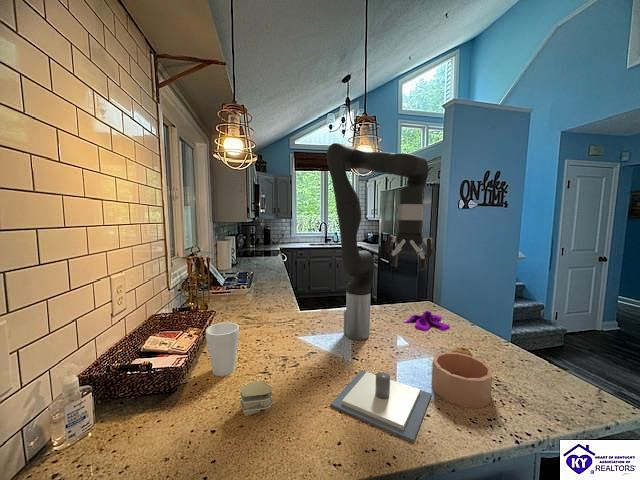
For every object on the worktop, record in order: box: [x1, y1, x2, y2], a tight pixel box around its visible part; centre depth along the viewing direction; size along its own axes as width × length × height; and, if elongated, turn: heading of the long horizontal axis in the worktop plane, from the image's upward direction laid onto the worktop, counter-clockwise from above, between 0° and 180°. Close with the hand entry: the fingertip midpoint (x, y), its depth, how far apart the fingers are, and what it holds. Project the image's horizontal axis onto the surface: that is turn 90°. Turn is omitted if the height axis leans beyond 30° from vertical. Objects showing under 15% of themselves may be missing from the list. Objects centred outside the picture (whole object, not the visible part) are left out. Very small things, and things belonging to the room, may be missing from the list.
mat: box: [329, 369, 432, 443], centre depth 71 cm, size 20×18×1 cm
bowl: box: [431, 351, 493, 409], centre depth 75 cm, size 14×14×7 cm
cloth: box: [404, 310, 451, 332], centre depth 122 cm, size 22×19×6 cm
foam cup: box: [205, 322, 240, 377], centre depth 83 cm, size 10×9×13 cm
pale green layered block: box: [239, 380, 274, 417], centre depth 67 cm, size 10×9×6 cm
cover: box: [342, 371, 421, 430], centre depth 70 cm, size 15×15×6 cm
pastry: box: [450, 346, 473, 356], centre depth 89 cm, size 9×7×4 cm
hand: (408, 268), depth 91 cm, fingers open, 8 cm apart
